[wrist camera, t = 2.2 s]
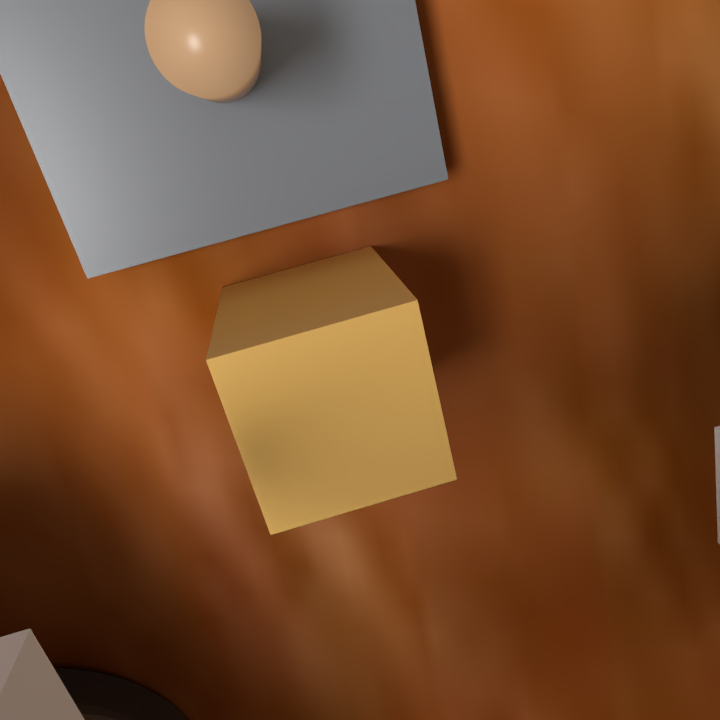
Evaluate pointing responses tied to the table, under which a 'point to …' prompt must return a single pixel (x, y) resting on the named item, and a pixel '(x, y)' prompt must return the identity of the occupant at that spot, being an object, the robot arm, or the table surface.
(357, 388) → the tan rectangular block
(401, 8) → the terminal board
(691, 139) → the table surface
